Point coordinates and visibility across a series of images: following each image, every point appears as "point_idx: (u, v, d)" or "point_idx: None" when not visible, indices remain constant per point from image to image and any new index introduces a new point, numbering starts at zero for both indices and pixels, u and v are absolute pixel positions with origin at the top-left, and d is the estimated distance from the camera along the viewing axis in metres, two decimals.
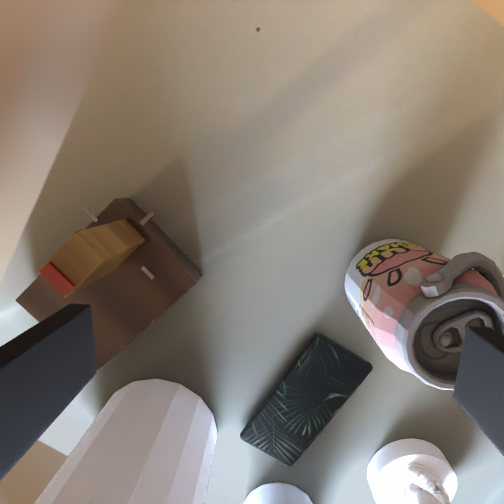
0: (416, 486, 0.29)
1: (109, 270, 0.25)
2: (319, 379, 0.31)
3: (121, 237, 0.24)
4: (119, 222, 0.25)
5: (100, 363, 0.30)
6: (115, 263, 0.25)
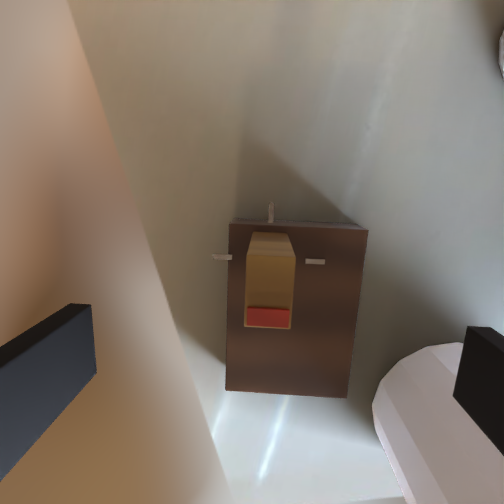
0: None
1: None
2: None
3: (273, 240, 0.19)
4: (255, 235, 0.21)
5: (345, 384, 0.25)
6: None
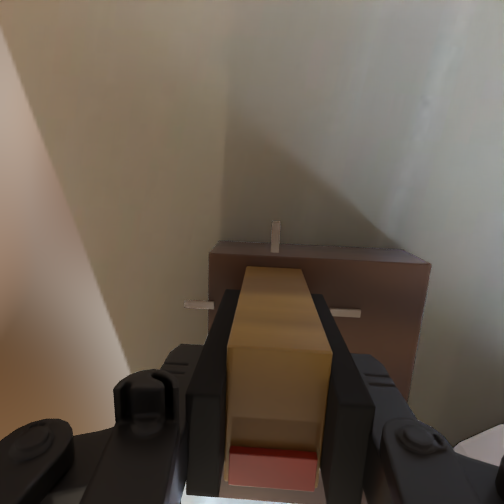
0: None
1: None
2: None
3: (280, 290, 0.11)
4: (249, 275, 0.13)
5: None
6: None
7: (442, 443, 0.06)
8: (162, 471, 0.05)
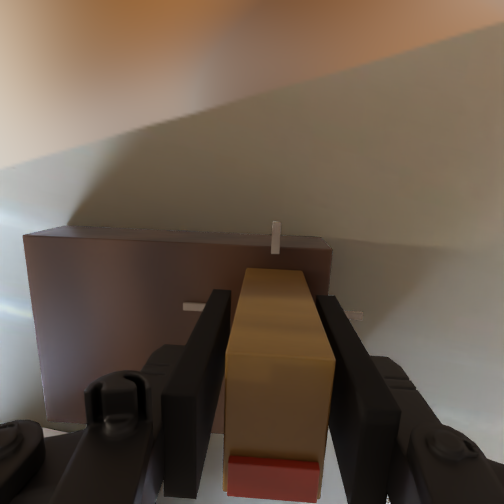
0: None
1: None
2: None
3: (281, 293, 0.11)
4: (249, 277, 0.12)
5: (71, 419, 0.16)
6: None
7: (473, 450, 0.06)
8: (133, 471, 0.05)
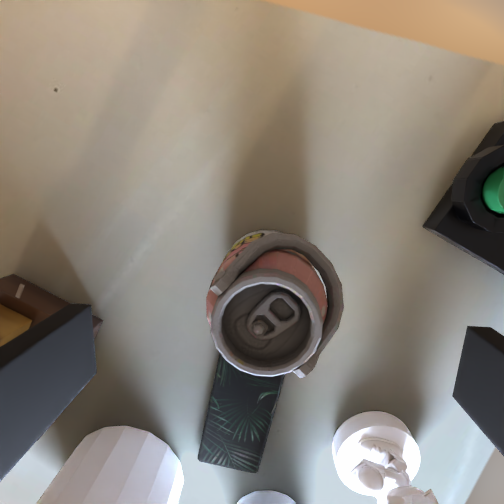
0: (362, 462, 0.28)
1: (7, 326, 0.27)
2: (244, 384, 0.31)
3: None
4: None
5: None
6: None
7: None
8: None
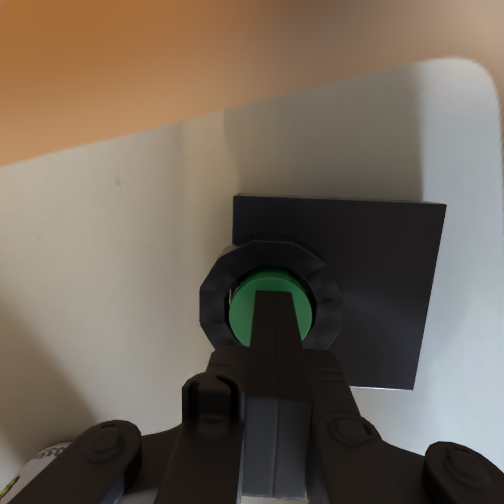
0: None
1: None
2: None
3: None
4: None
5: None
6: None
7: (371, 432, 0.06)
8: (231, 476, 0.05)
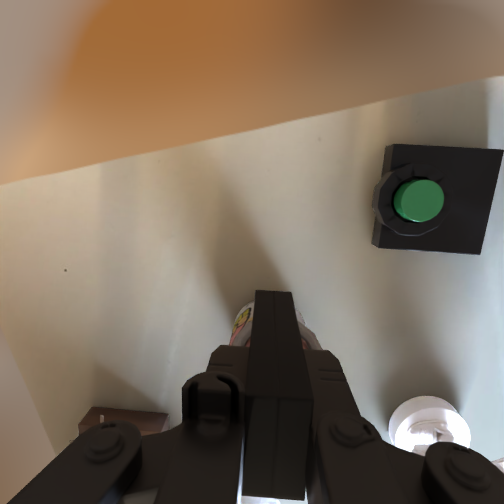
0: (412, 449, 0.33)
1: None
2: None
3: None
4: None
5: None
6: None
7: (371, 432, 0.06)
8: (231, 476, 0.05)
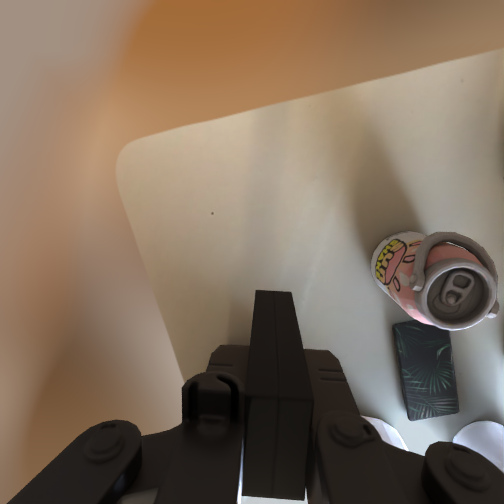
0: None
1: None
2: (421, 349, 0.40)
3: None
4: None
5: None
6: None
7: (371, 432, 0.06)
8: (231, 476, 0.05)
